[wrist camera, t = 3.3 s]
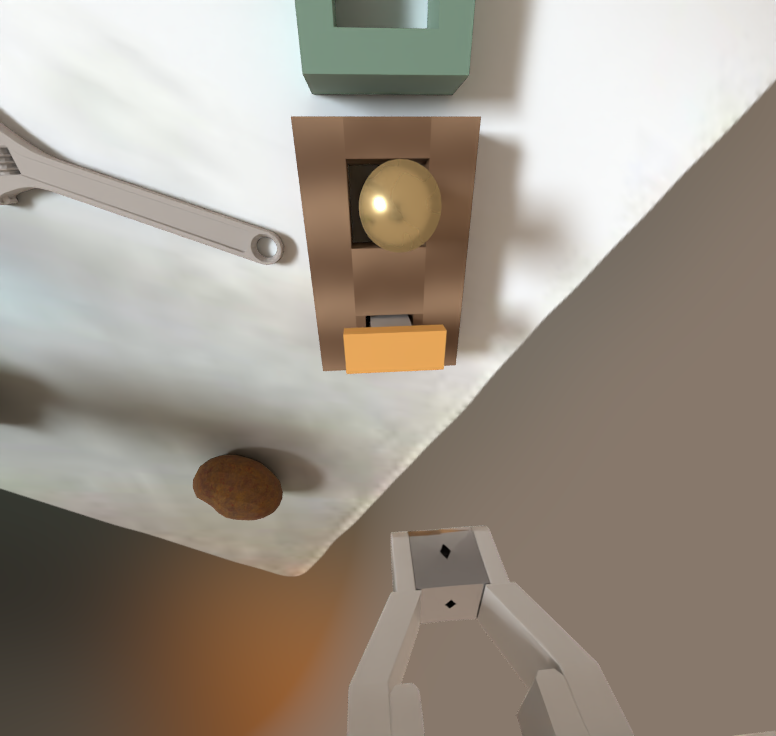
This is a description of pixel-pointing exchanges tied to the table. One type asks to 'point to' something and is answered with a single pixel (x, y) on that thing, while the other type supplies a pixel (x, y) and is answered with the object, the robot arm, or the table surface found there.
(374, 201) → the gold rounded cylinder
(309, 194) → the socket block
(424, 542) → the robot arm
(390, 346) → the block
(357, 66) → the green square frame
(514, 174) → the table surface
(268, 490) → the potato
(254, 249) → the adjustable wrench
